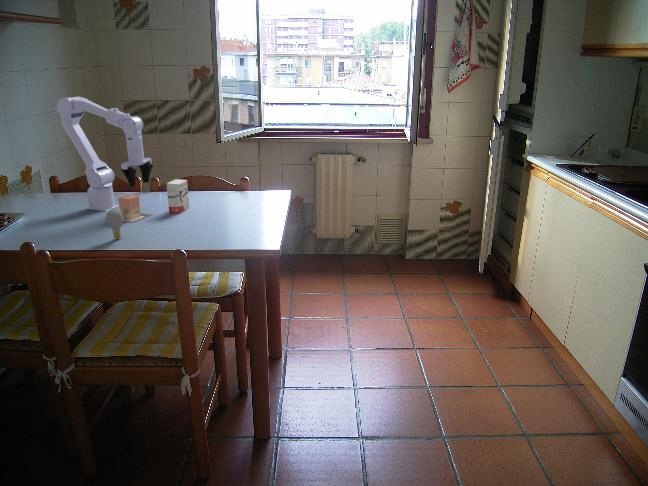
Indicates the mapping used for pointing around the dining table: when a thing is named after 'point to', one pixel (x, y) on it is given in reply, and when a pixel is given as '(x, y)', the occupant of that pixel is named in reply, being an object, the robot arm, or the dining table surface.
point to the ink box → (177, 196)
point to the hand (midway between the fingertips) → (139, 184)
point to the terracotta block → (128, 202)
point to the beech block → (131, 213)
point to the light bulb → (115, 222)
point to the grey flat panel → (137, 218)
